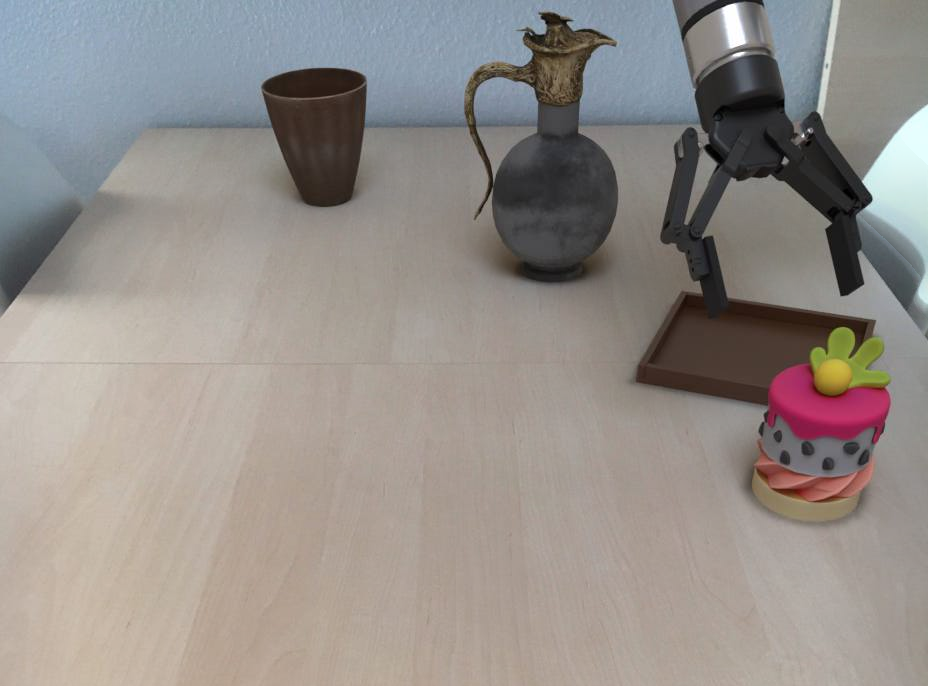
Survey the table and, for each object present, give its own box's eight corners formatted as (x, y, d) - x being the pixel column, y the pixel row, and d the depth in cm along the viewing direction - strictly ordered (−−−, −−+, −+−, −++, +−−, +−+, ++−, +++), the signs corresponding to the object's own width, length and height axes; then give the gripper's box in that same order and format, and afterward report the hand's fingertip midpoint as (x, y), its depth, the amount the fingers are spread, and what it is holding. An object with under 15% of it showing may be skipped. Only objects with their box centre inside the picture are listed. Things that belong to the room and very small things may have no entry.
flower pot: (301, 224, 148) (286, 104, 137) (261, 193, 157) (244, 78, 146) (392, 202, 153) (385, 85, 142) (348, 173, 163) (338, 61, 152)
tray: (871, 338, 119) (876, 319, 117) (849, 422, 106) (854, 402, 104) (679, 308, 126) (681, 290, 124) (635, 383, 113) (638, 364, 111)
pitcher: (610, 292, 129) (633, 21, 109) (460, 286, 132) (455, 20, 111) (613, 257, 137) (635, -2, 116) (472, 251, 139) (469, -3, 119)
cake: (861, 533, 92) (908, 384, 82) (742, 515, 95) (773, 368, 84) (863, 469, 99) (906, 325, 89) (751, 454, 102) (781, 312, 92)
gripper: (832, 84, 99) (881, 296, 99) (593, 113, 94) (644, 337, 94) (878, 35, 92) (932, 264, 92) (622, 64, 87) (678, 307, 87)
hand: (786, 302), depth 93 cm, fingers open, 13 cm apart
